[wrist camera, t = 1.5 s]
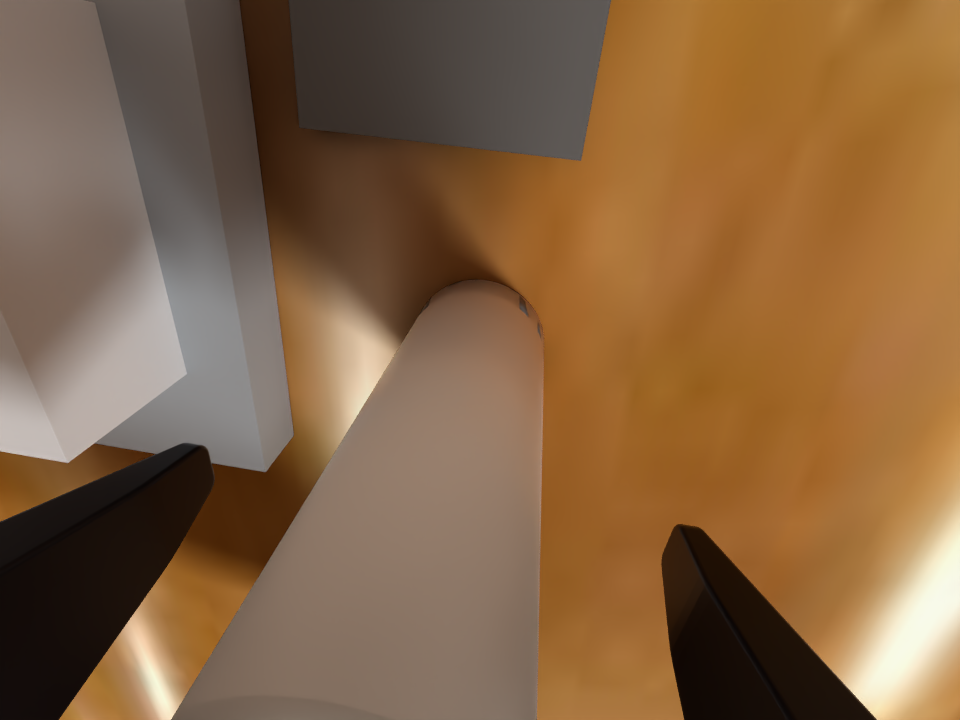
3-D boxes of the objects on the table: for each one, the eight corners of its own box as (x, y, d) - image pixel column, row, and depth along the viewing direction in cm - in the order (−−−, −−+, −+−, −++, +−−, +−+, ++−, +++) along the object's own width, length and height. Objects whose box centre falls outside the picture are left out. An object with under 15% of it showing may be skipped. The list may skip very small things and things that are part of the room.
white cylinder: (556, 383, 15) (570, 884, 5) (439, 404, 16) (275, 860, 6) (526, 264, 13) (468, 692, 4) (397, 296, 14) (84, 697, 5)
